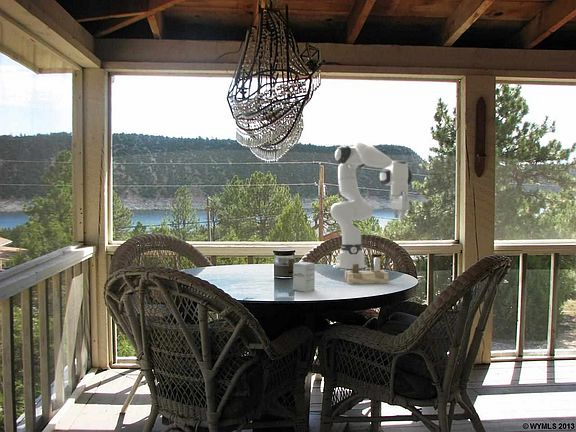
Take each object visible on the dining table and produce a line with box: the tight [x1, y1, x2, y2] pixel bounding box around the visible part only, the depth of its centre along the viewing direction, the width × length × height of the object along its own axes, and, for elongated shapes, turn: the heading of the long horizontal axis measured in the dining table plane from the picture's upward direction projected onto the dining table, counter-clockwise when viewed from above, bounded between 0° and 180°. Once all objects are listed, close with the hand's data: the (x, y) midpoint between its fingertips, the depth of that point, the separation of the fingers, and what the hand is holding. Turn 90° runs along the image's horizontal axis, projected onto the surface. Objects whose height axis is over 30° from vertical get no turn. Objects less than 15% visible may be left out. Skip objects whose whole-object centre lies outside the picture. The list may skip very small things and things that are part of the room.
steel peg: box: [374, 258, 380, 273], centre depth 274 cm, size 3×3×12 cm
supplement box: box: [292, 261, 316, 293], centre depth 251 cm, size 7×7×13 cm
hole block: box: [344, 269, 389, 285], centre depth 273 cm, size 9×20×5 cm, turn 96°
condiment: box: [370, 253, 383, 271], centre depth 290 cm, size 7×8×12 cm
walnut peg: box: [352, 264, 360, 273], centre depth 273 cm, size 3×3×9 cm
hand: (399, 218), depth 284 cm, fingers open, 8 cm apart
